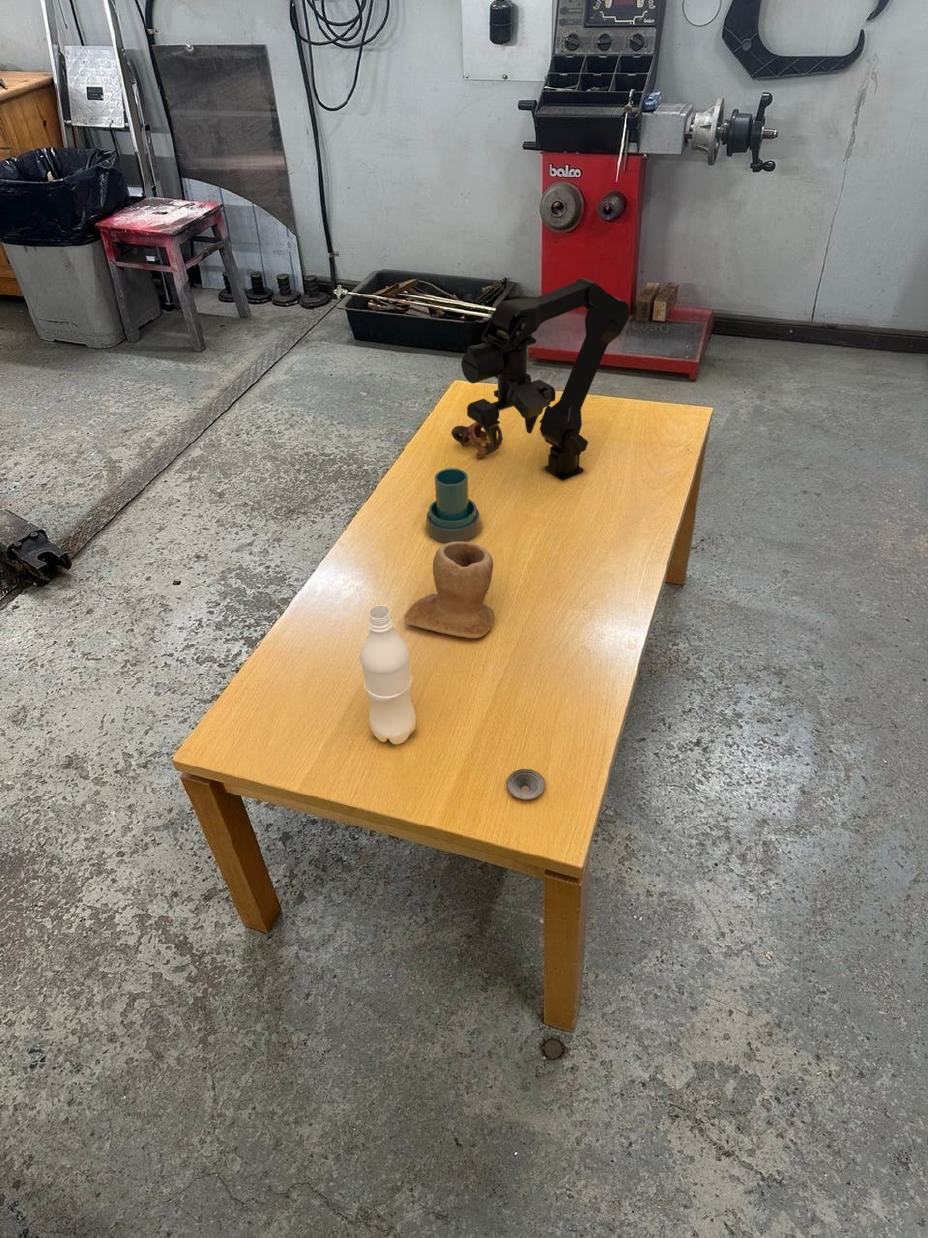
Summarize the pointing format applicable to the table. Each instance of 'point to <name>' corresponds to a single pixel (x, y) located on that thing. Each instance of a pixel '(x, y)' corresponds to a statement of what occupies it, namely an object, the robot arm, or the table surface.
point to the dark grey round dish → (525, 784)
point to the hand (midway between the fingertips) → (511, 439)
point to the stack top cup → (452, 524)
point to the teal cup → (452, 494)
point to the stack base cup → (453, 531)
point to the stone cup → (457, 593)
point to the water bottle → (387, 678)
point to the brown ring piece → (476, 438)
